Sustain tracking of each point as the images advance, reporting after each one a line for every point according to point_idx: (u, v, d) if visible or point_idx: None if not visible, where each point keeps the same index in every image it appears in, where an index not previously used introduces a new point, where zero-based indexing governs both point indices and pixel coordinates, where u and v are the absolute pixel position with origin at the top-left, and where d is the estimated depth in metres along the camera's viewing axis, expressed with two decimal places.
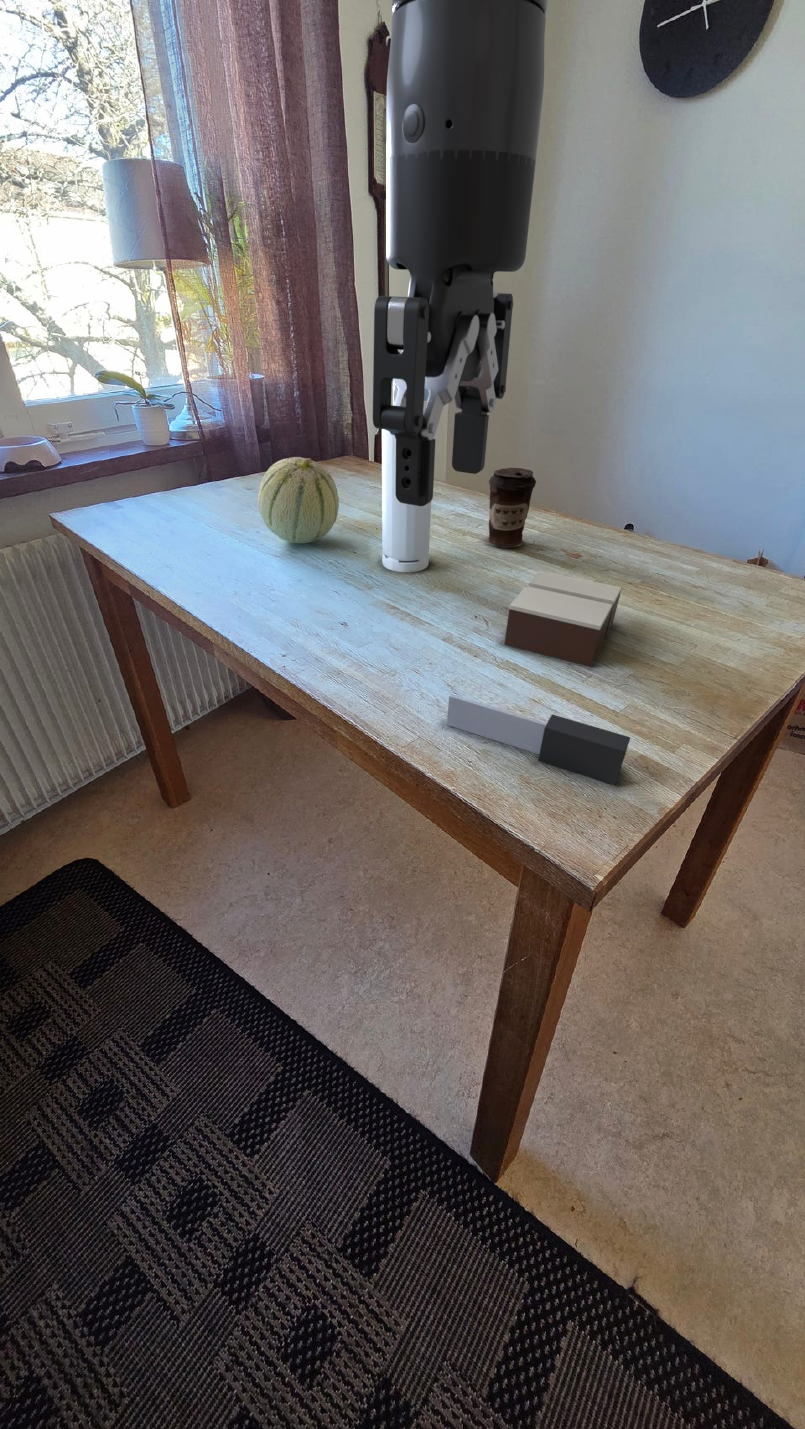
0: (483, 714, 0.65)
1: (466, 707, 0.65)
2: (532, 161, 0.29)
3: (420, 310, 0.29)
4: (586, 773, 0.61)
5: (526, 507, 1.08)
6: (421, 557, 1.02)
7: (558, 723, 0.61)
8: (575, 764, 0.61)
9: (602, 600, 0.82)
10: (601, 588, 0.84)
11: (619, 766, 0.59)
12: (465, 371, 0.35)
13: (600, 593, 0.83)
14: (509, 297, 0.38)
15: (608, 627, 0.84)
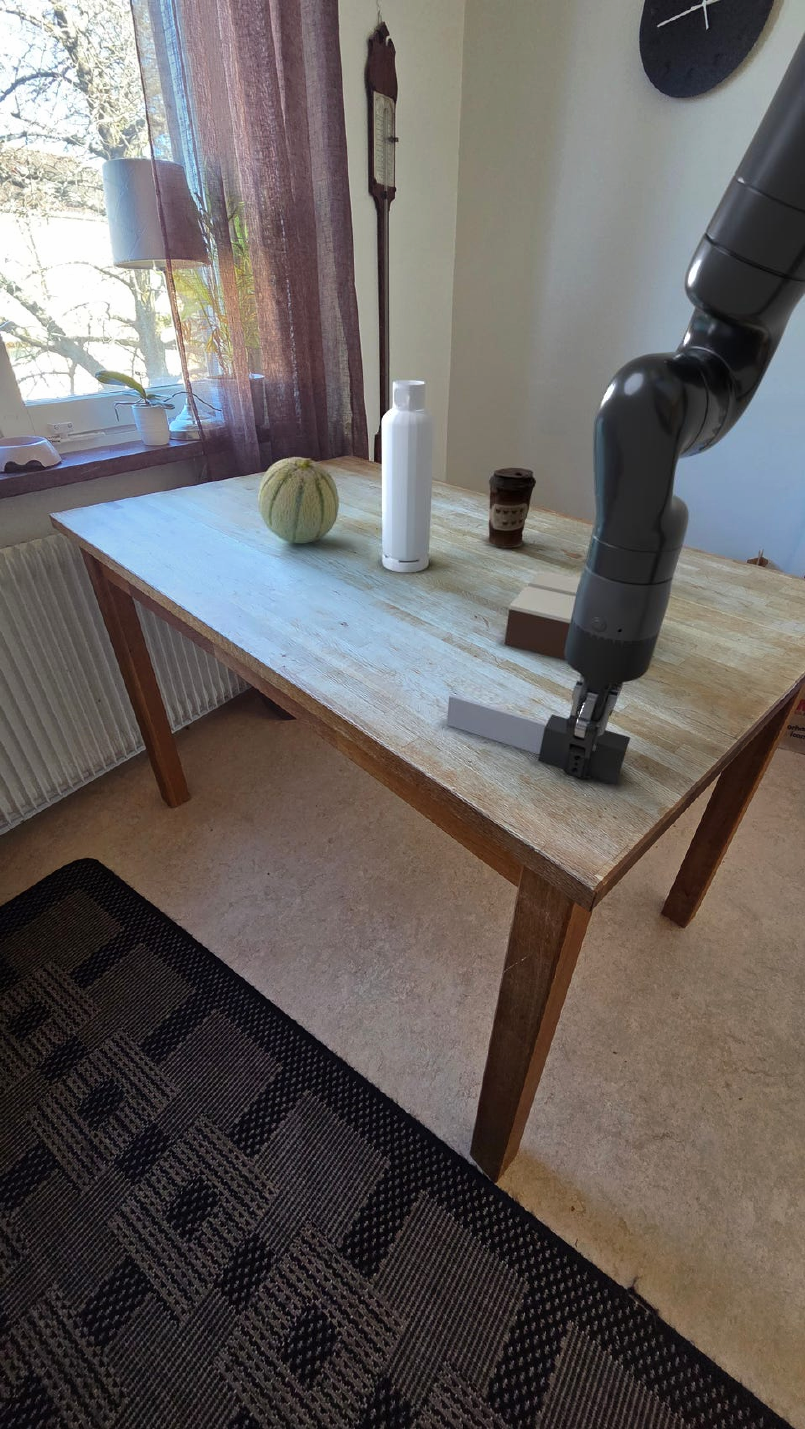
0: (483, 714, 0.65)
1: (466, 707, 0.65)
2: None
3: (594, 731, 0.52)
4: None
5: (526, 507, 1.08)
6: (421, 557, 1.02)
7: (558, 723, 0.61)
8: None
9: None
10: None
11: (619, 766, 0.59)
12: None
13: None
14: None
15: None
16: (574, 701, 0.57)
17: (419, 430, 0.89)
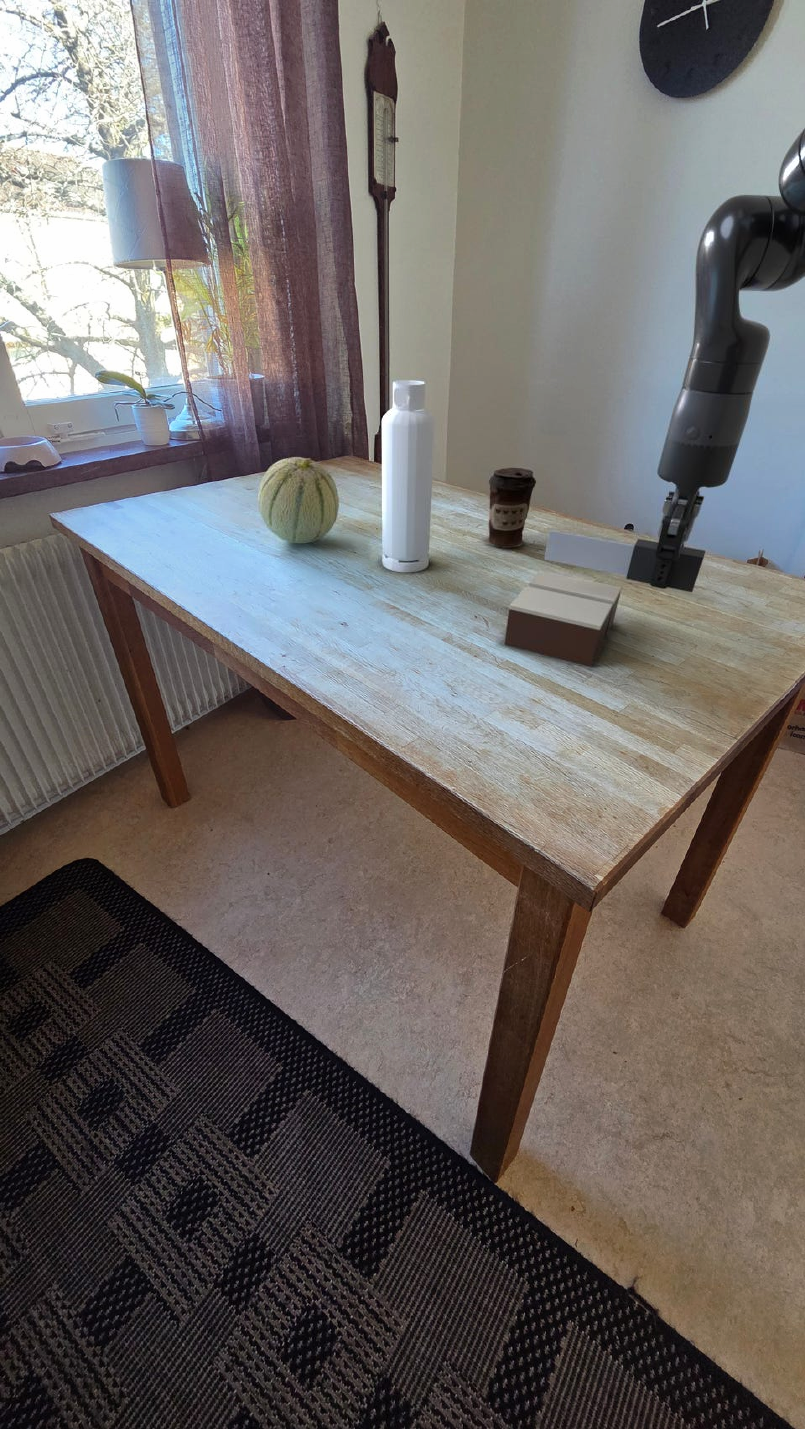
0: (579, 544, 0.78)
1: (564, 539, 0.79)
2: None
3: (686, 526, 0.66)
4: None
5: (526, 507, 1.08)
6: (421, 557, 1.02)
7: (645, 543, 0.75)
8: None
9: (602, 600, 0.82)
10: (601, 588, 0.84)
11: (697, 572, 0.73)
12: (688, 522, 0.71)
13: (600, 593, 0.83)
14: None
15: (608, 627, 0.84)
16: (664, 514, 0.70)
17: (419, 430, 0.89)
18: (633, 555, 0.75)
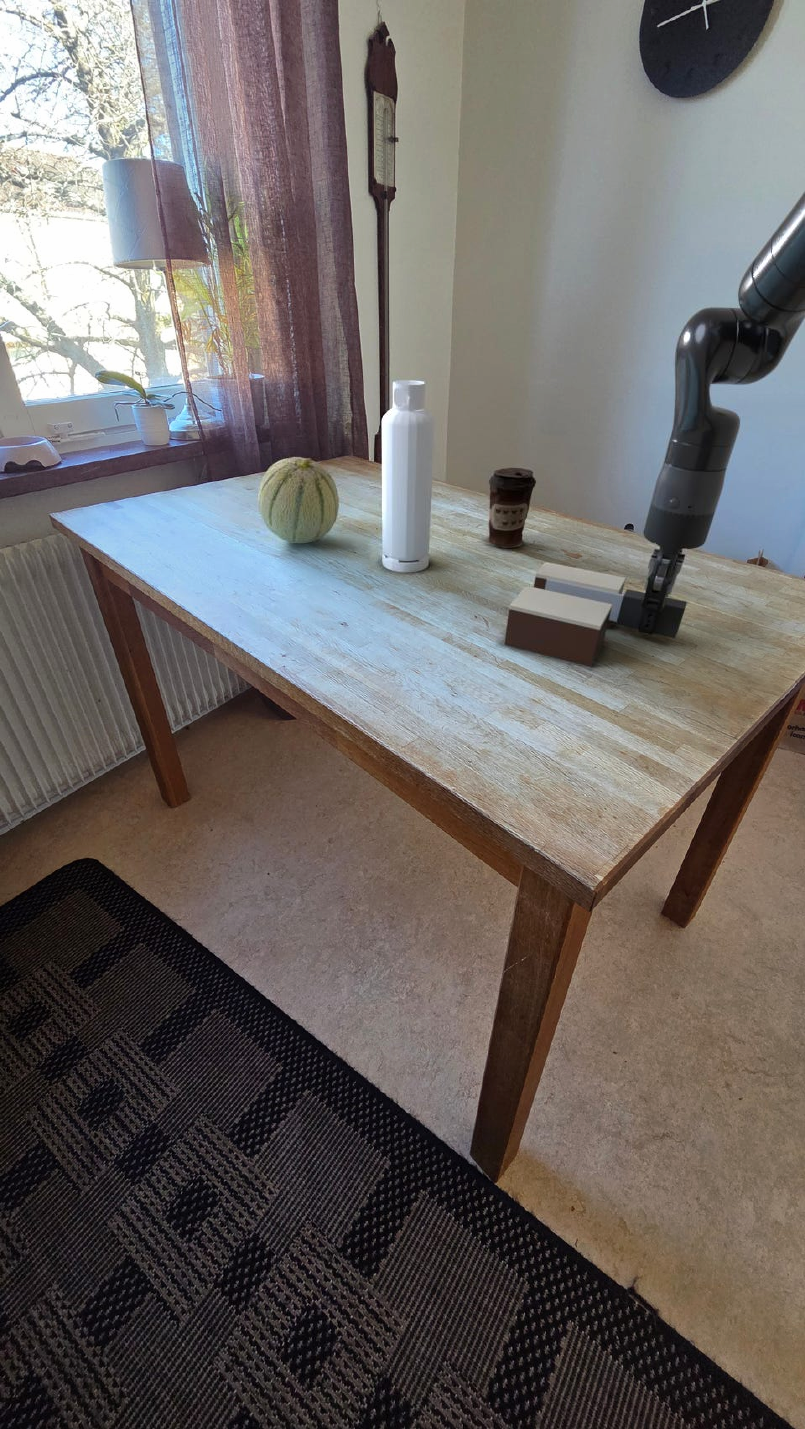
0: (573, 592, 0.86)
1: (560, 587, 0.87)
2: (715, 510, 0.73)
3: (668, 583, 0.74)
4: None
5: (526, 507, 1.08)
6: (421, 557, 1.02)
7: (633, 593, 0.83)
8: None
9: (607, 590, 0.84)
10: (606, 578, 0.87)
11: (679, 622, 0.81)
12: (671, 577, 0.79)
13: (605, 583, 0.86)
14: (681, 548, 0.83)
15: None
16: (649, 570, 0.78)
17: (419, 430, 0.89)
18: (622, 604, 0.83)
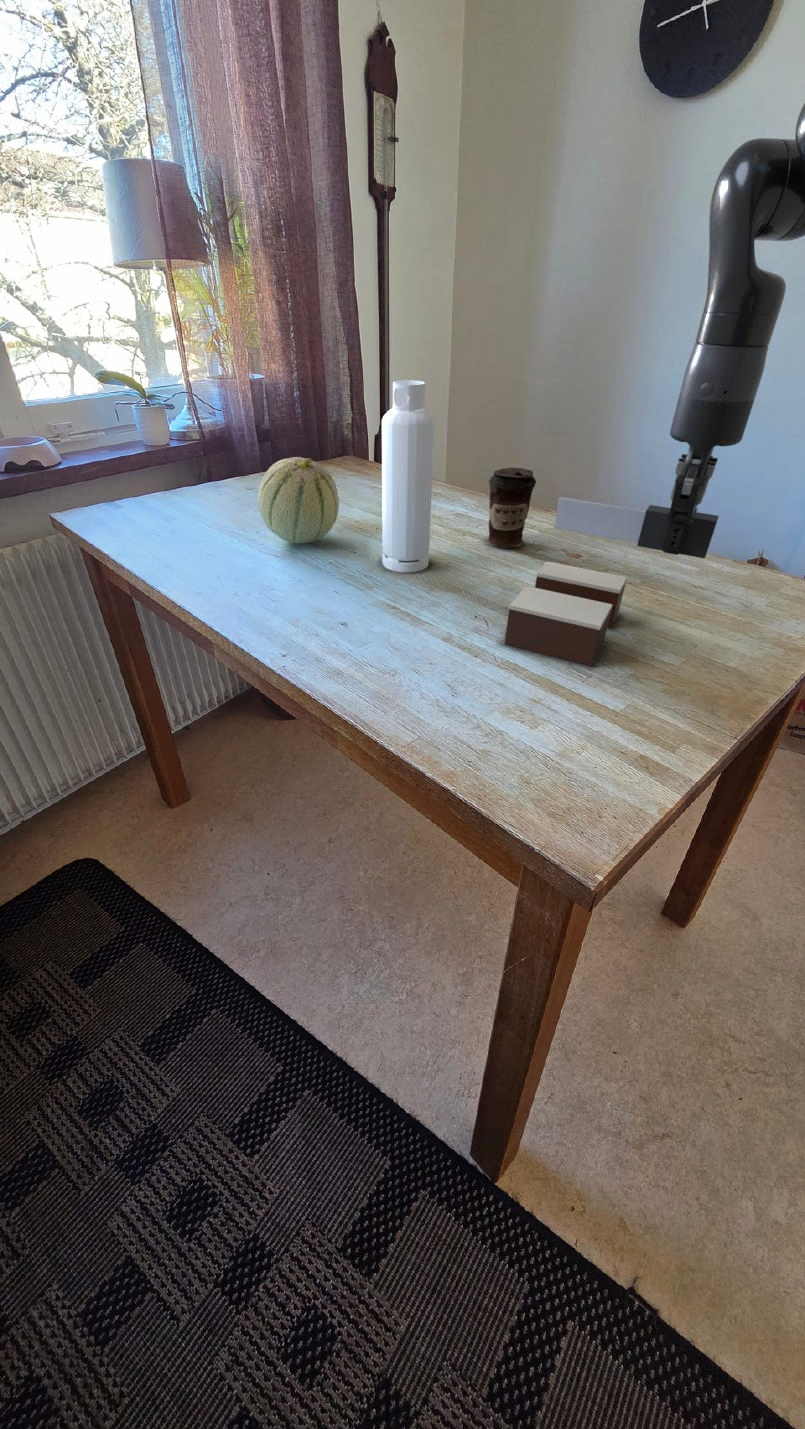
0: (589, 511, 0.77)
1: (574, 506, 0.78)
2: None
3: (700, 485, 0.65)
4: None
5: (526, 507, 1.08)
6: (421, 557, 1.02)
7: (657, 508, 0.73)
8: None
9: (608, 589, 0.85)
10: (607, 578, 0.87)
11: (710, 537, 0.71)
12: None
13: (606, 582, 0.86)
14: (712, 457, 0.73)
15: (614, 616, 0.87)
16: (677, 476, 0.69)
17: (419, 430, 0.89)
18: (645, 521, 0.74)
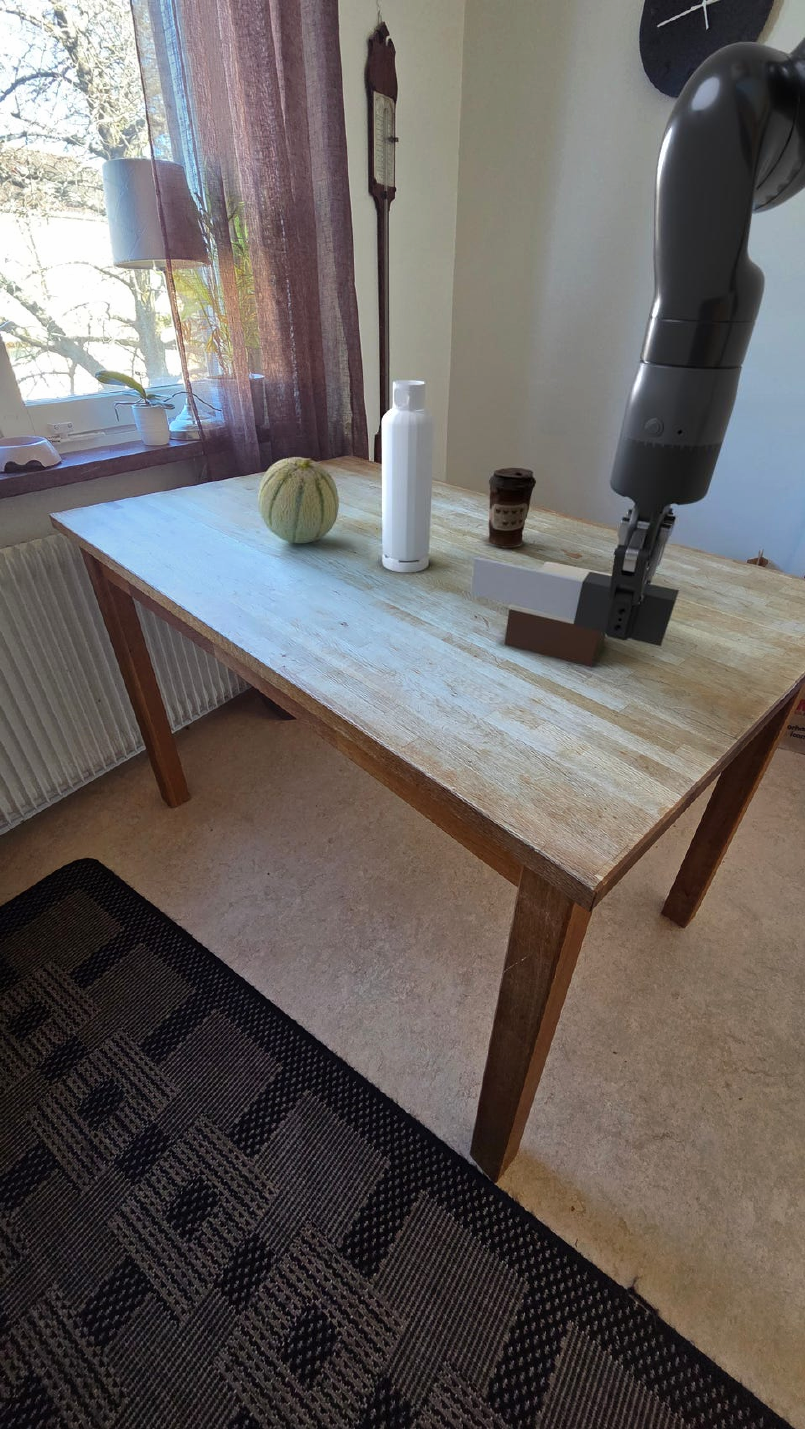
0: (512, 576, 0.59)
1: (493, 570, 0.59)
2: None
3: (647, 560, 0.46)
4: None
5: (526, 507, 1.08)
6: (421, 557, 1.02)
7: (597, 578, 0.55)
8: None
9: None
10: None
11: (667, 621, 0.53)
12: None
13: None
14: (672, 510, 0.55)
15: None
16: (620, 540, 0.50)
17: (419, 430, 0.89)
18: (581, 594, 0.55)
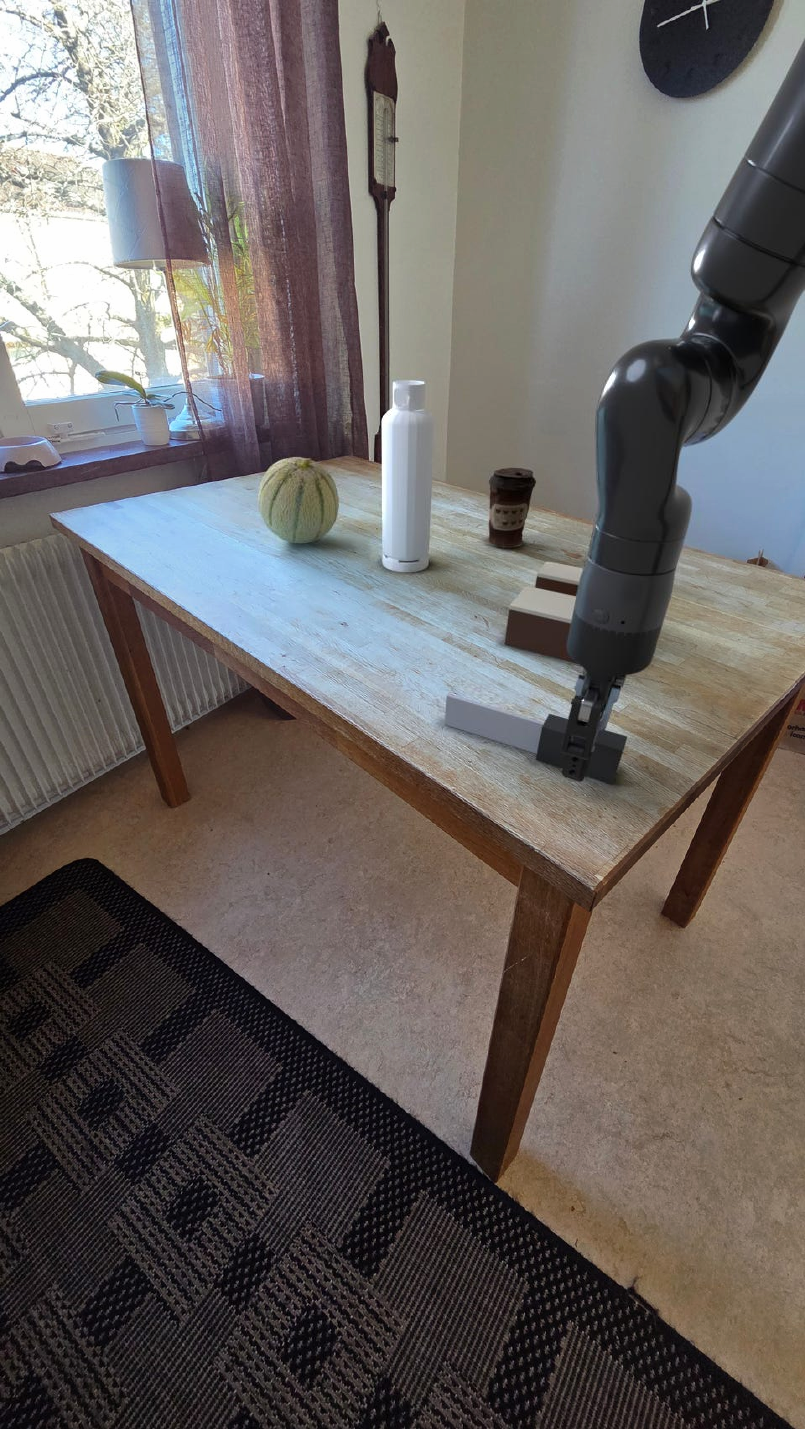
0: (481, 713, 0.65)
1: (464, 706, 0.65)
2: None
3: (600, 710, 0.51)
4: None
5: (526, 507, 1.08)
6: (421, 557, 1.02)
7: (555, 722, 0.61)
8: None
9: None
10: None
11: (616, 765, 0.59)
12: None
13: None
14: None
15: None
16: (576, 693, 0.56)
17: (419, 430, 0.89)
18: (541, 737, 0.61)
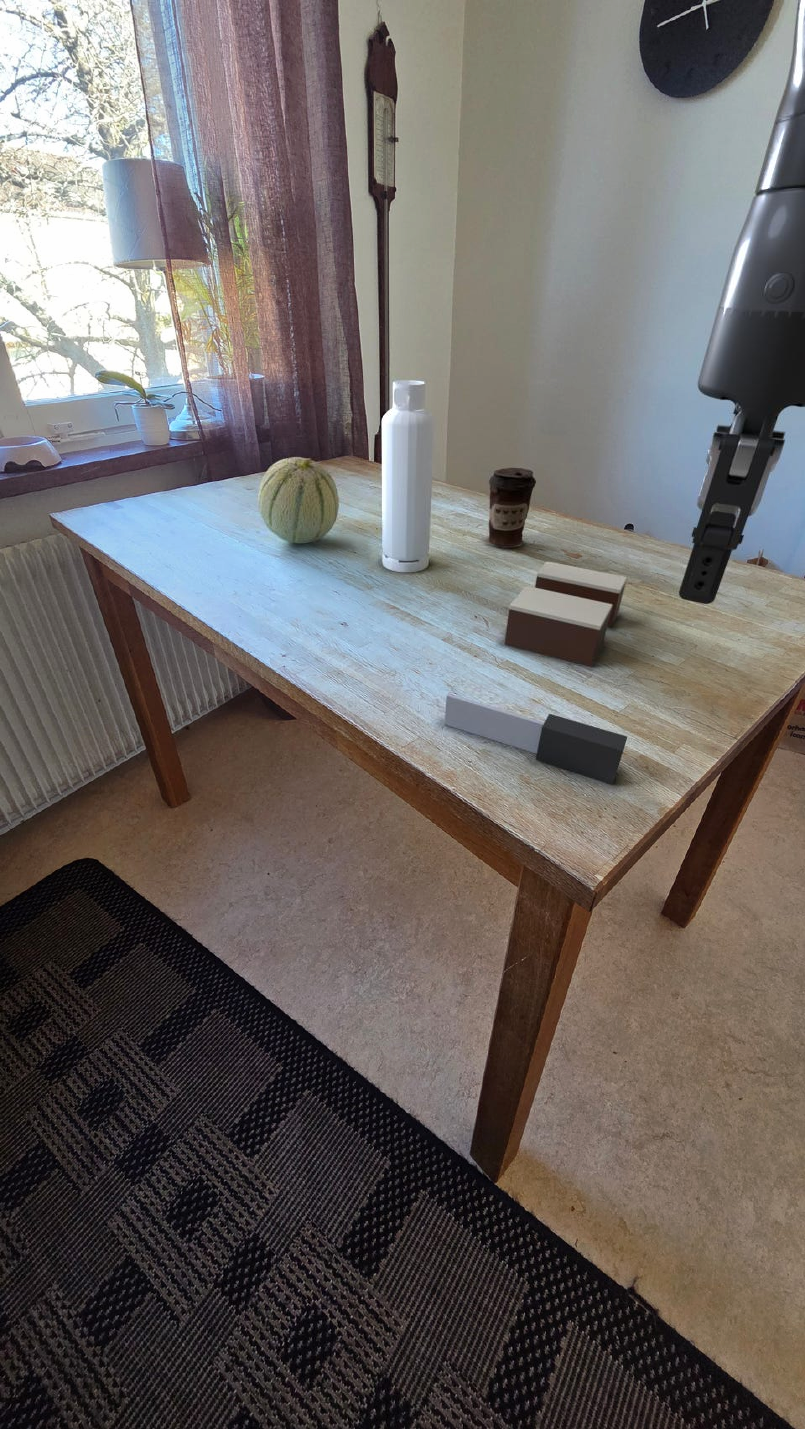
0: (481, 713, 0.65)
1: (464, 706, 0.65)
2: None
3: None
4: (583, 772, 0.61)
5: (526, 507, 1.08)
6: (421, 557, 1.02)
7: (555, 722, 0.61)
8: (572, 763, 0.61)
9: (608, 589, 0.85)
10: (607, 578, 0.87)
11: (616, 765, 0.59)
12: None
13: (606, 582, 0.86)
14: None
15: (614, 616, 0.87)
16: (712, 458, 0.37)
17: (419, 430, 0.89)
18: (541, 737, 0.61)
